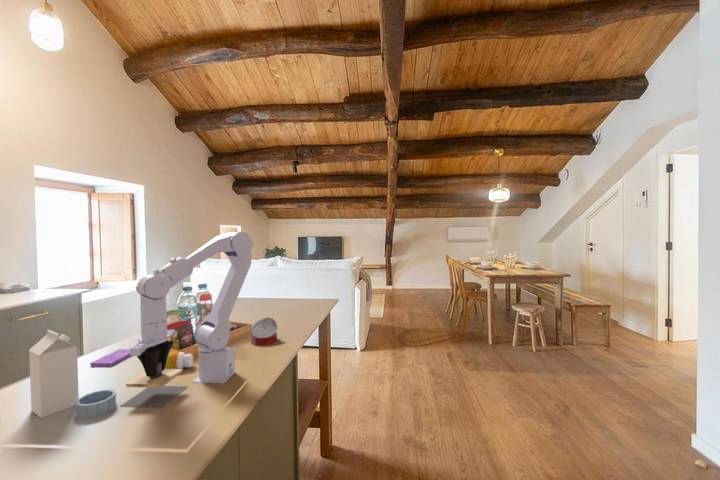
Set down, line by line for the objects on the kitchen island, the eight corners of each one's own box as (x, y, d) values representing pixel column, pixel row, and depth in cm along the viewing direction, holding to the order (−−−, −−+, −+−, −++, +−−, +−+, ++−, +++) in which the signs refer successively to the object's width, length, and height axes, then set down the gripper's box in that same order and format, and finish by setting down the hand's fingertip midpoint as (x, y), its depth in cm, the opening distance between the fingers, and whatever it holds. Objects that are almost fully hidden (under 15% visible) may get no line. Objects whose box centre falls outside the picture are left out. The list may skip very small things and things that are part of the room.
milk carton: (41, 419, 77) (38, 338, 77) (31, 411, 81) (28, 333, 80) (79, 405, 83) (76, 330, 83) (68, 398, 87) (65, 326, 86)
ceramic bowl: (123, 403, 84) (123, 390, 84) (98, 420, 77) (98, 405, 77) (95, 403, 85) (94, 389, 84) (67, 419, 77) (67, 405, 77)
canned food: (277, 350, 134) (287, 330, 132) (257, 356, 125) (267, 334, 123) (261, 333, 139) (270, 313, 137) (241, 337, 131) (250, 316, 129)
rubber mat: (188, 388, 92) (188, 386, 92) (162, 409, 81) (162, 407, 81) (150, 387, 93) (150, 385, 93) (119, 408, 82) (119, 406, 82)
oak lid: (182, 372, 91) (182, 357, 91) (161, 387, 82) (160, 371, 82) (150, 371, 92) (150, 357, 92) (126, 386, 83) (125, 370, 83)
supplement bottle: (152, 370, 100) (186, 368, 101) (156, 351, 103) (189, 349, 104) (159, 373, 105) (192, 370, 106) (162, 355, 107) (194, 353, 109)
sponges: (138, 353, 120) (138, 348, 120) (111, 368, 107) (111, 362, 107) (119, 353, 120) (119, 348, 120) (89, 368, 108) (89, 362, 107)
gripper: (157, 314, 94) (159, 361, 94) (117, 329, 79) (119, 385, 80) (181, 314, 94) (183, 362, 94) (145, 329, 79) (147, 386, 80)
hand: (155, 373), depth 87 cm, fingers closed on oak lid, 3 cm apart
